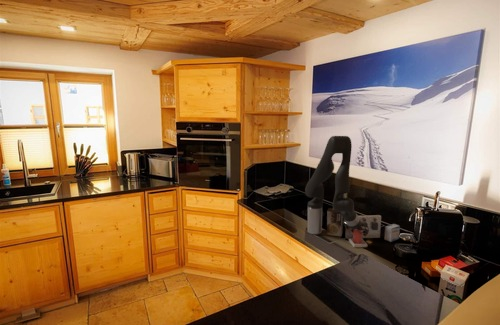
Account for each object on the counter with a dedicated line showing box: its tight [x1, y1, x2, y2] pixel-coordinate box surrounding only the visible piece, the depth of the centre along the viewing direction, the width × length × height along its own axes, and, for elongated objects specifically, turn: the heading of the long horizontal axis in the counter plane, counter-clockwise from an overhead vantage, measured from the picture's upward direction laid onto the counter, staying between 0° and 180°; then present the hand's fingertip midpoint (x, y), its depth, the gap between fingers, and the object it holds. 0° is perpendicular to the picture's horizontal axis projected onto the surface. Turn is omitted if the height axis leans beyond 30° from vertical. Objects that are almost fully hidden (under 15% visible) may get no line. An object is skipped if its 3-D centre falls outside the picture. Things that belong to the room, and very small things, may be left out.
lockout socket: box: [348, 238, 368, 248], centre depth 156 cm, size 8×8×2 cm
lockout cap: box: [352, 229, 363, 244], centre depth 156 cm, size 5×5×10 cm
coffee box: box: [326, 207, 343, 237], centre depth 170 cm, size 9×6×16 cm
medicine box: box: [384, 223, 401, 243], centre depth 161 cm, size 8×4×9 cm, turn 118°
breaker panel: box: [344, 214, 382, 240], centre depth 163 cm, size 4×21×14 cm, turn 91°
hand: (359, 232), depth 157 cm, fingers open, 6 cm apart
